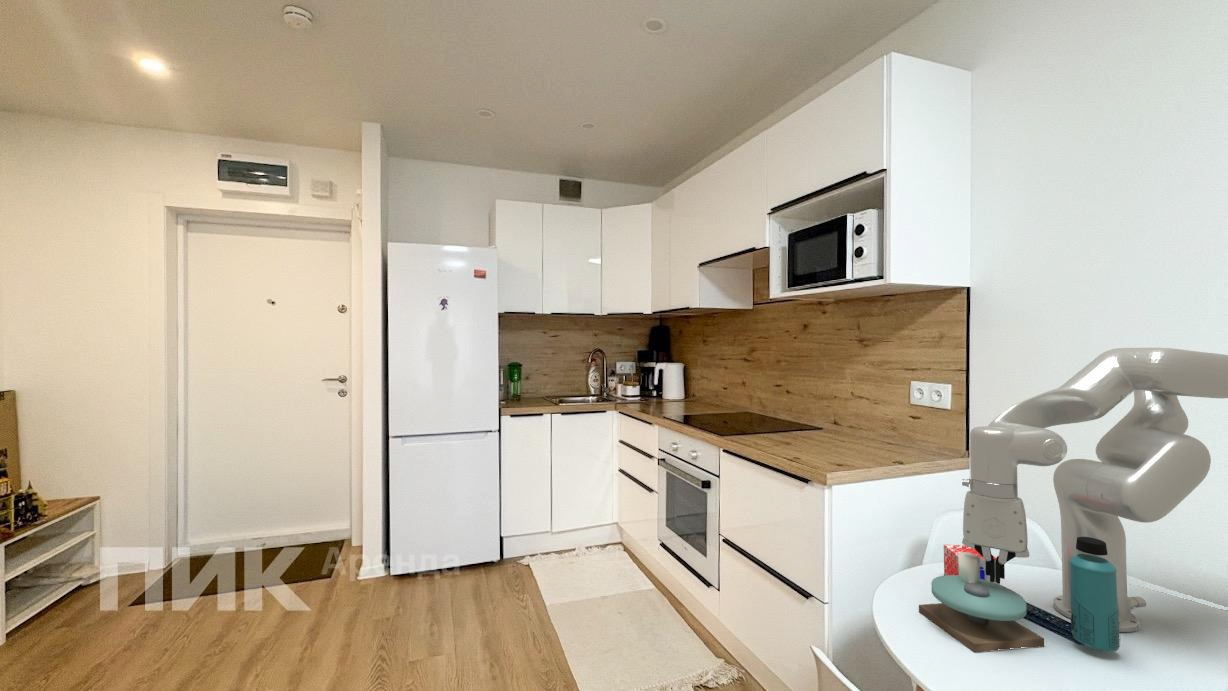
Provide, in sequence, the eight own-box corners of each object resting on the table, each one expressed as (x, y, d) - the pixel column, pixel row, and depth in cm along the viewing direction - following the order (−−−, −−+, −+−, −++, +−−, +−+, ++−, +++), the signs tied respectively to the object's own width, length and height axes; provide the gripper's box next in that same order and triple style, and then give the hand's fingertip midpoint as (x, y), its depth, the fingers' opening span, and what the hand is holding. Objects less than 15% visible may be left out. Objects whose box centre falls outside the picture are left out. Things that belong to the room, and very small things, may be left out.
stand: (980, 607, 105) (979, 582, 105) (1044, 646, 91) (1043, 618, 91) (918, 612, 103) (918, 587, 103) (974, 652, 89) (973, 623, 89)
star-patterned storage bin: (981, 579, 117) (980, 546, 117) (1000, 596, 109) (999, 560, 110) (943, 577, 119) (943, 544, 119) (960, 593, 111) (959, 557, 111)
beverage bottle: (1131, 663, 86) (1128, 547, 86) (1086, 658, 87) (1083, 544, 87) (1102, 641, 92) (1099, 533, 92) (1061, 637, 93) (1058, 531, 94)
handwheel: (979, 580, 105) (978, 549, 105) (1048, 617, 90) (1047, 582, 90) (914, 584, 104) (913, 553, 104) (973, 623, 89) (972, 587, 89)
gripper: (947, 486, 101) (948, 576, 101) (1043, 500, 92) (1045, 599, 92) (950, 479, 107) (952, 564, 107) (1042, 491, 98) (1043, 584, 97)
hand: (995, 580), depth 99 cm, fingers closed
